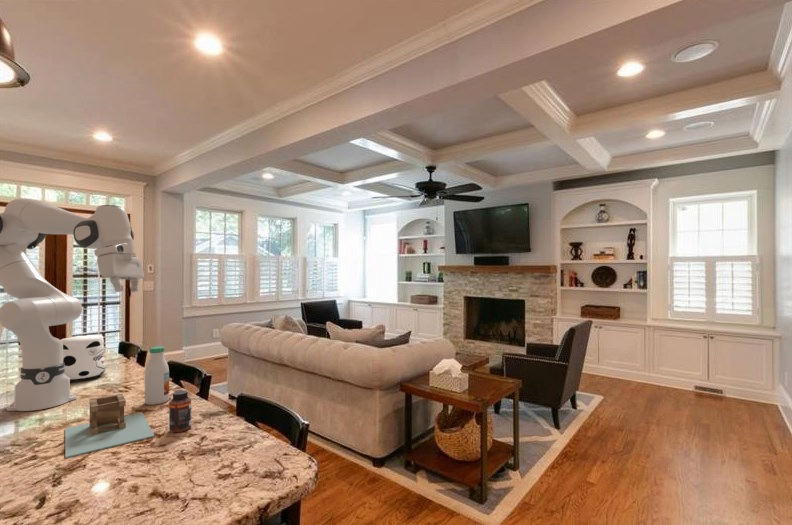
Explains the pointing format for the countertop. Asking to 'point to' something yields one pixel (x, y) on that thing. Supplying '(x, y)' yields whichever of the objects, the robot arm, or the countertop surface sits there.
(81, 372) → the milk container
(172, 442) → the countertop surface
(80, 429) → the mat
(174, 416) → the supplement bottle
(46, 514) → the countertop surface
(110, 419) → the open wooden box
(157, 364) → the milk bottle
